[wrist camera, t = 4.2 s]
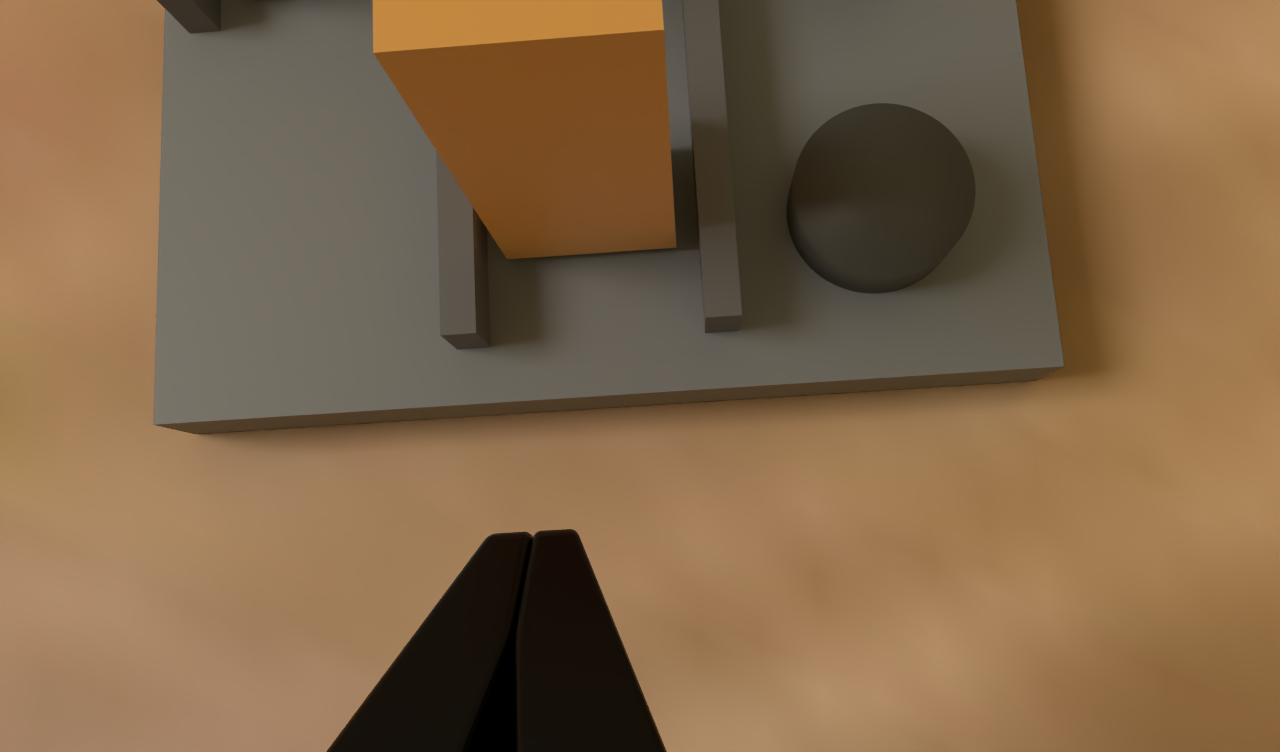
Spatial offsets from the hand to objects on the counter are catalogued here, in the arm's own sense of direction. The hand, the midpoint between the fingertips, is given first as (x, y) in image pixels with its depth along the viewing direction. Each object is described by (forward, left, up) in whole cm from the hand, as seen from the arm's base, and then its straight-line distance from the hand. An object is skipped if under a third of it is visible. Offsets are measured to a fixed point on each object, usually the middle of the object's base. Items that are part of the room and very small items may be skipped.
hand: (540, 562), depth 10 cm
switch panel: (+8, -3, -9) cm, 13 cm away
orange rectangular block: (+6, -2, -7) cm, 10 cm away
